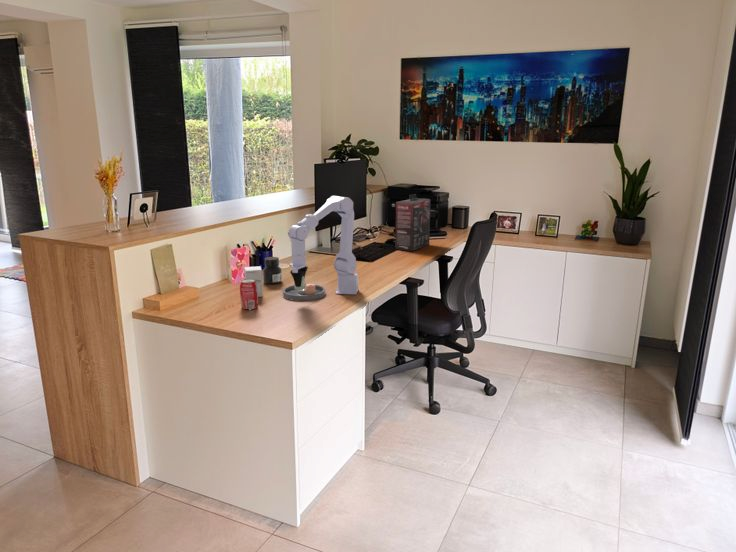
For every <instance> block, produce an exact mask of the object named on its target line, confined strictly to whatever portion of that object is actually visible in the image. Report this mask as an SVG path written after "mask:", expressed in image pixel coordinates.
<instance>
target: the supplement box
mask: <svg viewBox="0 0 736 552" xmlns="http://www.w3.org/2000/svg"><path fill="white" fill-rule="evenodd" d="M243 269H244V270H243V271H244V279H254V280H255V282H256V284H257V293H258V298H259V297H260V298H261V297H264V293H263V292H264V291H263V290H264V289H263V269H262V267H261V266H260V265H259V266H245V267H243Z"/></svg>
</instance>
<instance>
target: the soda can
mask: <svg viewBox="0 0 736 552" xmlns="http://www.w3.org/2000/svg"><path fill="white" fill-rule="evenodd" d="M239 297H240V307H241V308H242V309H243V310H245V309H253V310H256V308H258V307H259V297H258V293H257V284H256V282H255V280H254V279H245V278H244V279H241V280H240V284H239Z"/></svg>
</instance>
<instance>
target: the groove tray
mask: <svg viewBox="0 0 736 552" xmlns="http://www.w3.org/2000/svg"><path fill="white" fill-rule="evenodd" d="M306 284H307V283H305V285H306ZM325 295H326V288H325V287H324V286H322V285H318V284H315V294H312V295H306V292H305V289H303V290H296V289H295V285H293V284H292V285H289V286H286V287H284V288H283V289H282V296H283V298H285V297H286V298H285V299H287V298H288V299H287V300H290V299H292V300H291V301H296V300H307V301H313V299H314V300H319V299H321V298H323V297H325ZM318 298H319V299H318Z"/></svg>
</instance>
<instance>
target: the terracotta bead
mask: <svg viewBox="0 0 736 552" xmlns="http://www.w3.org/2000/svg"><path fill="white" fill-rule="evenodd" d="M305 284H306V285H305V292H306V295H312V294H315V285H316V284H315V283H305Z"/></svg>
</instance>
